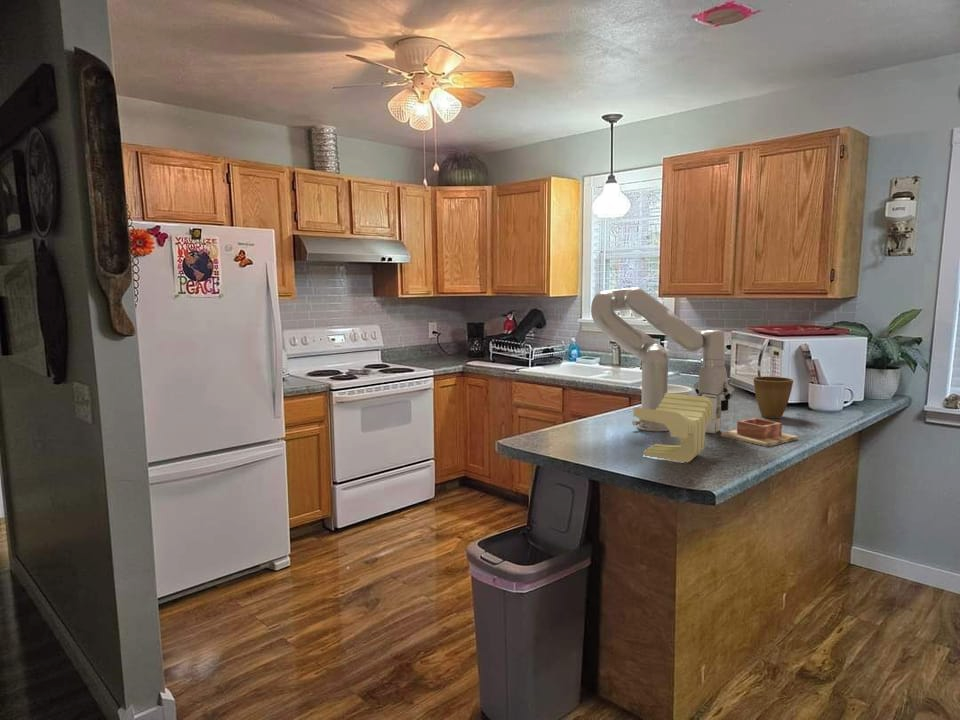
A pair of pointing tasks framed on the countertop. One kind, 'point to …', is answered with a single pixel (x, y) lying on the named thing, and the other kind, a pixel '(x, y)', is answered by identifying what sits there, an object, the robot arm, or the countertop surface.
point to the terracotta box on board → (759, 432)
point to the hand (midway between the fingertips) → (713, 408)
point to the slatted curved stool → (679, 425)
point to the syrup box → (714, 413)
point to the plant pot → (772, 395)
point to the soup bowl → (677, 389)
